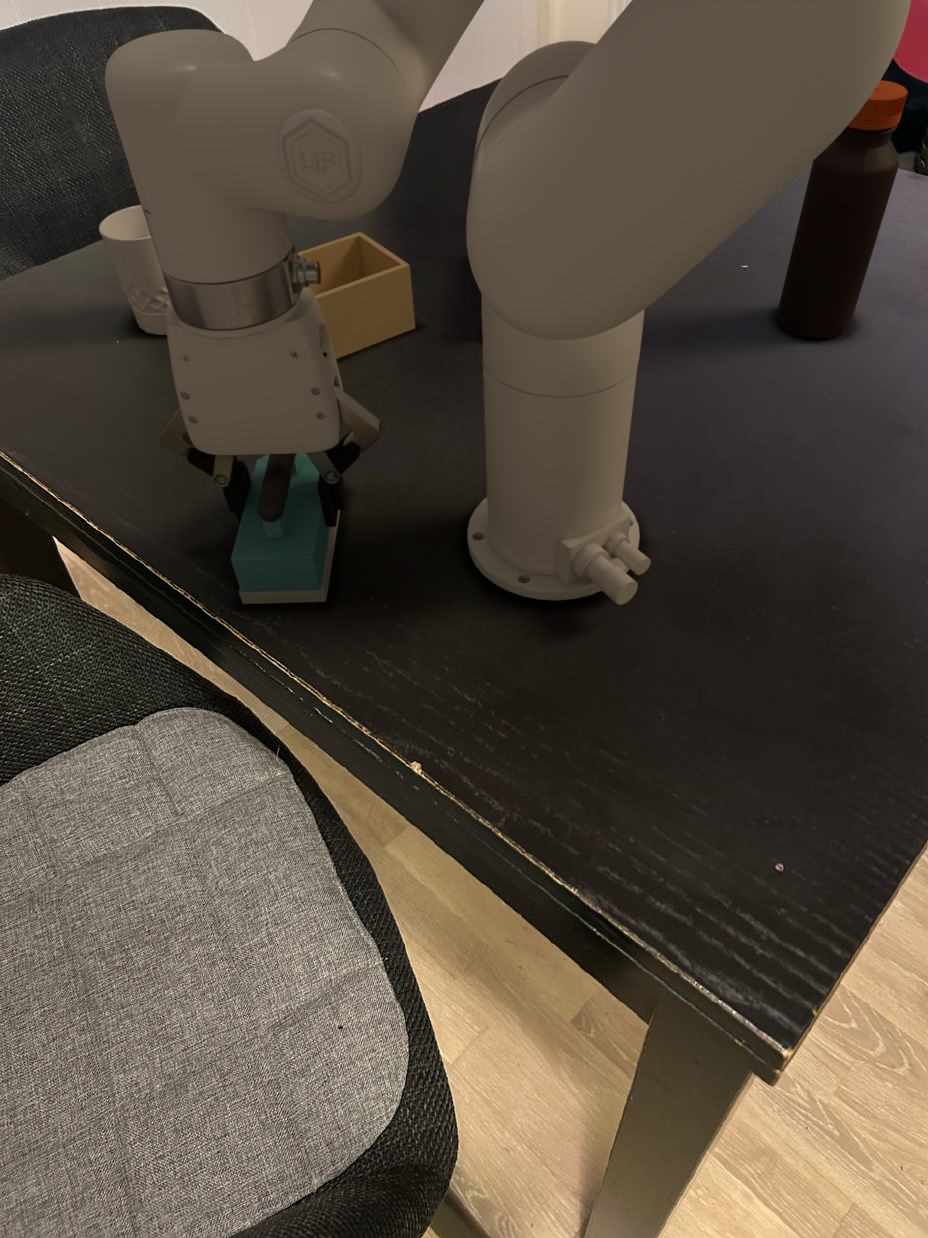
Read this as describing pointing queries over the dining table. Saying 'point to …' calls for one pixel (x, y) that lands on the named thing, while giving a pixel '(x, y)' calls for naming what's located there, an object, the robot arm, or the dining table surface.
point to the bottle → (842, 219)
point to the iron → (284, 534)
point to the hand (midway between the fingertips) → (290, 514)
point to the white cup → (137, 267)
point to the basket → (361, 292)
